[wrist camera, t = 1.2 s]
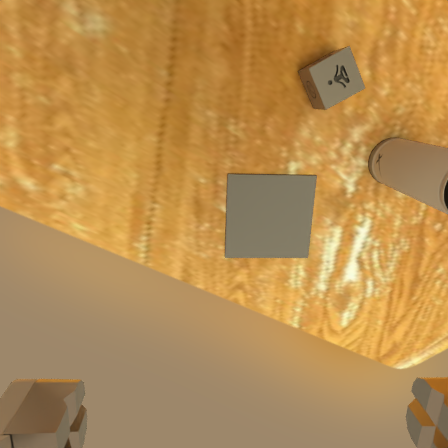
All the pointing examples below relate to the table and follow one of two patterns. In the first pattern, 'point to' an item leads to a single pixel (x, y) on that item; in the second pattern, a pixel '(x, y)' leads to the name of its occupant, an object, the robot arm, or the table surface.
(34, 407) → the robot arm
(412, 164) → the travel mug
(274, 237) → the mat
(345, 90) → the dice cube
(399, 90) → the table surface
